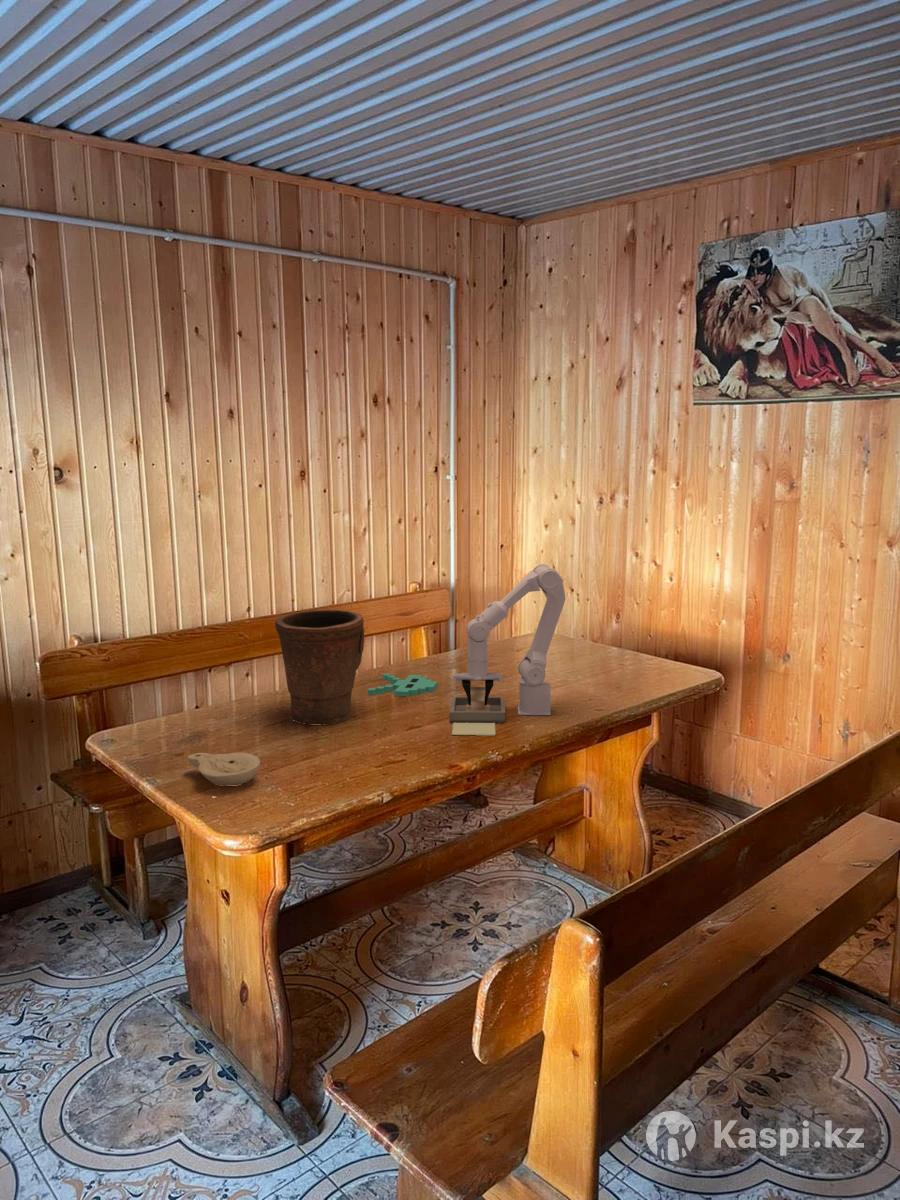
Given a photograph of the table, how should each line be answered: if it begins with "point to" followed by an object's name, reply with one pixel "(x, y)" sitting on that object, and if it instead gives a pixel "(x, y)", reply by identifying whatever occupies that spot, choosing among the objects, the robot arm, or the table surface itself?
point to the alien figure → (405, 685)
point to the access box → (477, 711)
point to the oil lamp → (226, 767)
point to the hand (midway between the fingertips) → (477, 704)
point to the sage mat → (474, 729)
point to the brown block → (477, 698)
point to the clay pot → (321, 662)
